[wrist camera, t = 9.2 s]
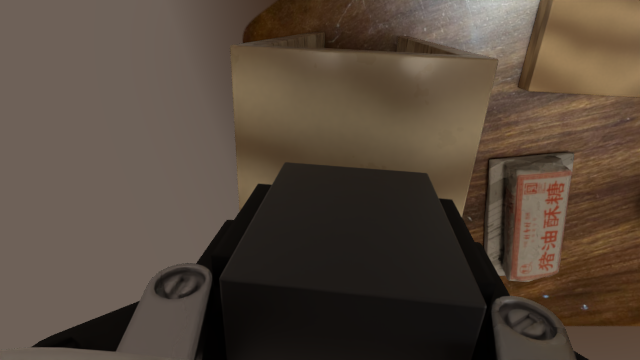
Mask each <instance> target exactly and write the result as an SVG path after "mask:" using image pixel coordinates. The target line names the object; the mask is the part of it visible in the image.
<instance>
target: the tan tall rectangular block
mask: <svg viewBox="0 0 640 360" xmlns="http://www.w3.org/2000/svg"><path fill="white" fill-rule="evenodd" d="M324 43H325V32H312V33H306V34H299V35H293V36H286V37H280V38H274V39H267V40H261V41H255V42H248V43H242V44H236V45H231V46H230V54H231V72H232V88H233V105H234V124H235V142H236V157H237V158H236V159H237V176H238V194H239V211H240V210H241V209H242V207H243V206H244V204H245V203H246V201H247V200H248V198H249V197H250V195H251V194H252V192H253V190H254V189H255V187H256V186H257V184H258V183H259V184H271V185H272V184H273V182H274V180H275V178H276V177H277V175H278V173H279V171H280V169H281V168H282V166H283V164H284V163H285V162H290V163H303V164H316V165H329V166H342V167H355V168H368V169H381V170H394V171H407V172H421V173H427V174H428V175H429V178H430V180H431V182H432V184H433V187H434V189H435V191H436V193H437V196H438V198H442V199H452V200H453V202H454V204H455V206H456V207H457V209H458V211H459V213H460V215H461V217H462V214H463V210H464V206H465V202H466V197H467V193H468V189H469V184H470V180H471V176H472V172H473V167H474V163H475V159H476V154H477V150H478V146H479V142H480V137H481V133H482V129H483V125H484V120H485V116H486V112H487V107H488V103H489V99H490V95H491V90H492V86H493V82H494V77H495V73H496V69H497V65H498V59H496V58H492V57H488V56H484V55H480V54H476V53H472V52H468V51H464V50H460V49H456V48H452V47H448V46H444V45H440V44H437V43H433V42H429V41H425V40H421V39H417V38H413V37H409V36H398V42H397V51H396V52H389V51H369V50H350V49H330V48H324Z"/></svg>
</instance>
